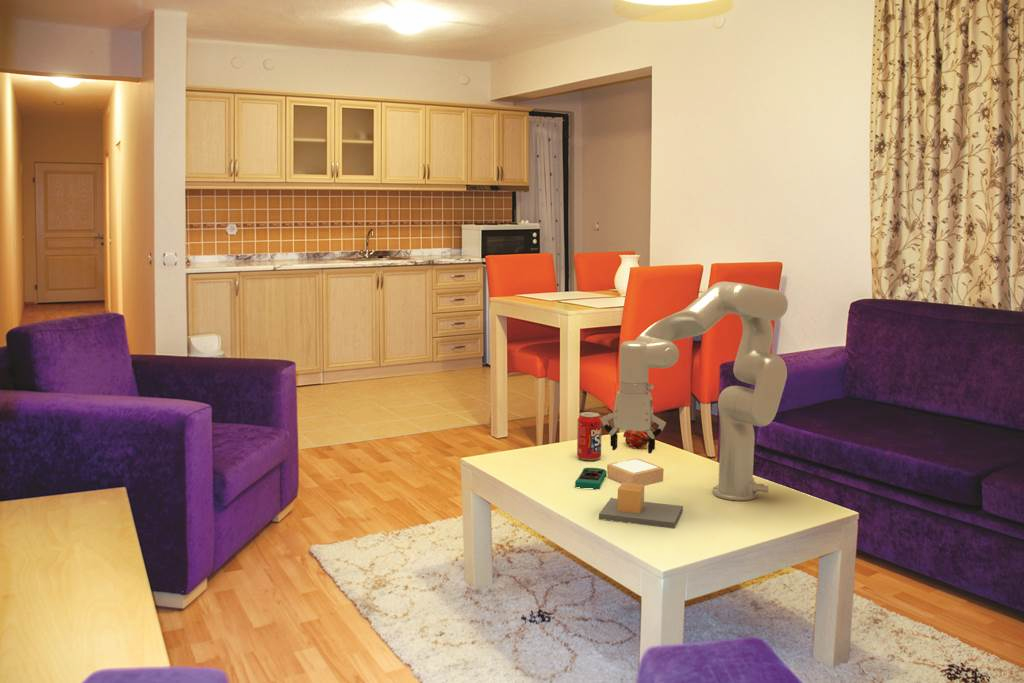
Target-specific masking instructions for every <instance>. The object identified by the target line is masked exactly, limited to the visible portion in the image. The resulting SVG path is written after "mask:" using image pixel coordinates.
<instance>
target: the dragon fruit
mask: <svg viewBox="0 0 1024 683" xmlns="http://www.w3.org/2000/svg"><path fill="white" fill-rule="evenodd" d="M623 438H625V440H624V441H625V444H626V445H627V446H629V445H631V446H632V447H633V448H634V449H637V450H638V449H641V447H644V446H645V447H647V446H648V439H649V438H650V436H649V435H648V434H647V433H646V431H631V430H624V432H623Z"/></svg>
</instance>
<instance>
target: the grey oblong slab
mask: <svg viewBox="0 0 1024 683" xmlns="http://www.w3.org/2000/svg"><path fill="white" fill-rule="evenodd" d="M617 501H618V498H615V497H611V498H610V499H609V500H608V501H607V502H606V503H605V505H604V506H603V508H602V509H601V510H600V511H599V513H598V520H602V519H606V520H605V521H610V520H613V522H619V521H622V522H621V523H627V522H631V523H630V524H635V523H637V524H636V525H638V524H639V525H646V526H654V527H662V528H668V529H670V528H671V529H675V527H677V526H676V525H677V524H678V522H679V519H680V517H681V516H682V514H683V512H682V511H683V510H684V506H683V505H677V504H668V503H660V502H651V501H644V507H643V508H642V510H641V512H640V513H632V512H624V511H617ZM681 513H682V514H681ZM680 515H681V516H680Z"/></svg>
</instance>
